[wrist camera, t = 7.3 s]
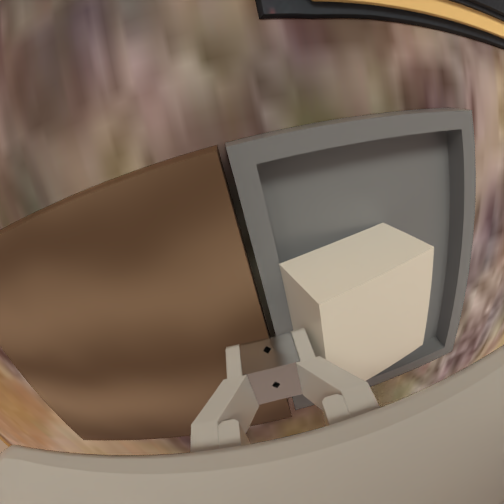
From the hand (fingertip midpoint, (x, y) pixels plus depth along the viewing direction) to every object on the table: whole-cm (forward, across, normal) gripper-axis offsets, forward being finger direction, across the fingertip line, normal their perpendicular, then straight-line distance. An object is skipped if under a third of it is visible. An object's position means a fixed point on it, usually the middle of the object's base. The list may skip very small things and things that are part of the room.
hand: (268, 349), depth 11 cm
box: (+3, -6, 0) cm, 6 cm away
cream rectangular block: (+2, -4, 0) cm, 4 cm away
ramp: (+3, +7, 0) cm, 8 cm away
